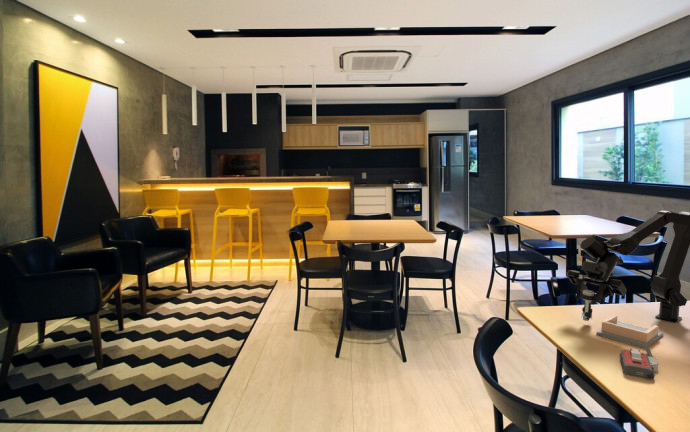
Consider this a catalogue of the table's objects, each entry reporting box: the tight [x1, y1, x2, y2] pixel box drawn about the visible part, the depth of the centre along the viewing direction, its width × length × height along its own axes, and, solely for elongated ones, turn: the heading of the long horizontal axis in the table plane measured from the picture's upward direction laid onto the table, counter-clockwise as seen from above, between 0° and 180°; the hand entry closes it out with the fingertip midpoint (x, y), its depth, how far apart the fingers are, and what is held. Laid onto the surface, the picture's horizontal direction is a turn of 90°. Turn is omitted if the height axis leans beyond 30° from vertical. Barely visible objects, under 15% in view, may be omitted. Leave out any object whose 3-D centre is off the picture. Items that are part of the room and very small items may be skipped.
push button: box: [580, 289, 596, 322], centre depth 149 cm, size 7×5×10 cm
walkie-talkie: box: [619, 347, 659, 380], centre depth 120 cm, size 9×4×20 cm
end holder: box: [595, 314, 664, 349], centre depth 140 cm, size 16×14×4 cm
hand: (584, 301), depth 148 cm, fingers closed on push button, 5 cm apart
